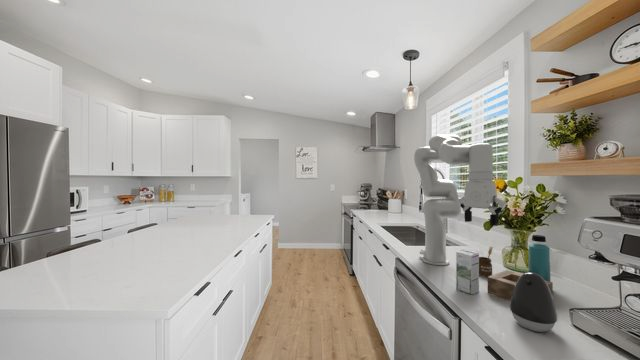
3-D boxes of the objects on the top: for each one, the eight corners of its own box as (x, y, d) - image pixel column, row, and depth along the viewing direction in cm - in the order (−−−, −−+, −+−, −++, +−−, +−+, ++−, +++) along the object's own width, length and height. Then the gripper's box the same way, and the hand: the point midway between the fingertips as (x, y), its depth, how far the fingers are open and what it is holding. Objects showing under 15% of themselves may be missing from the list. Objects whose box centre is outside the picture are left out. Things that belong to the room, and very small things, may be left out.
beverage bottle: (554, 291, 96) (554, 237, 96) (534, 289, 97) (534, 236, 97) (543, 284, 102) (543, 234, 102) (524, 283, 104) (524, 233, 104)
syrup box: (479, 291, 96) (479, 252, 96) (471, 295, 93) (471, 254, 93) (464, 286, 101) (464, 248, 101) (455, 289, 97) (455, 251, 98)
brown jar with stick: (473, 272, 116) (473, 245, 116) (486, 271, 116) (486, 245, 116) (481, 277, 110) (481, 248, 110) (496, 276, 111) (496, 248, 111)
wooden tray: (487, 293, 94) (487, 276, 94) (506, 285, 101) (506, 270, 101) (534, 309, 82) (534, 291, 82) (552, 299, 89) (552, 282, 89)
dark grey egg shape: (503, 324, 74) (503, 271, 74) (517, 313, 80) (517, 264, 80) (550, 342, 66) (550, 282, 66) (561, 329, 72) (561, 274, 72)
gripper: (452, 177, 102) (452, 220, 102) (498, 176, 86) (498, 228, 86) (465, 177, 105) (465, 219, 105) (512, 177, 90) (512, 226, 90)
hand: (480, 223), depth 96 cm, fingers open, 9 cm apart
